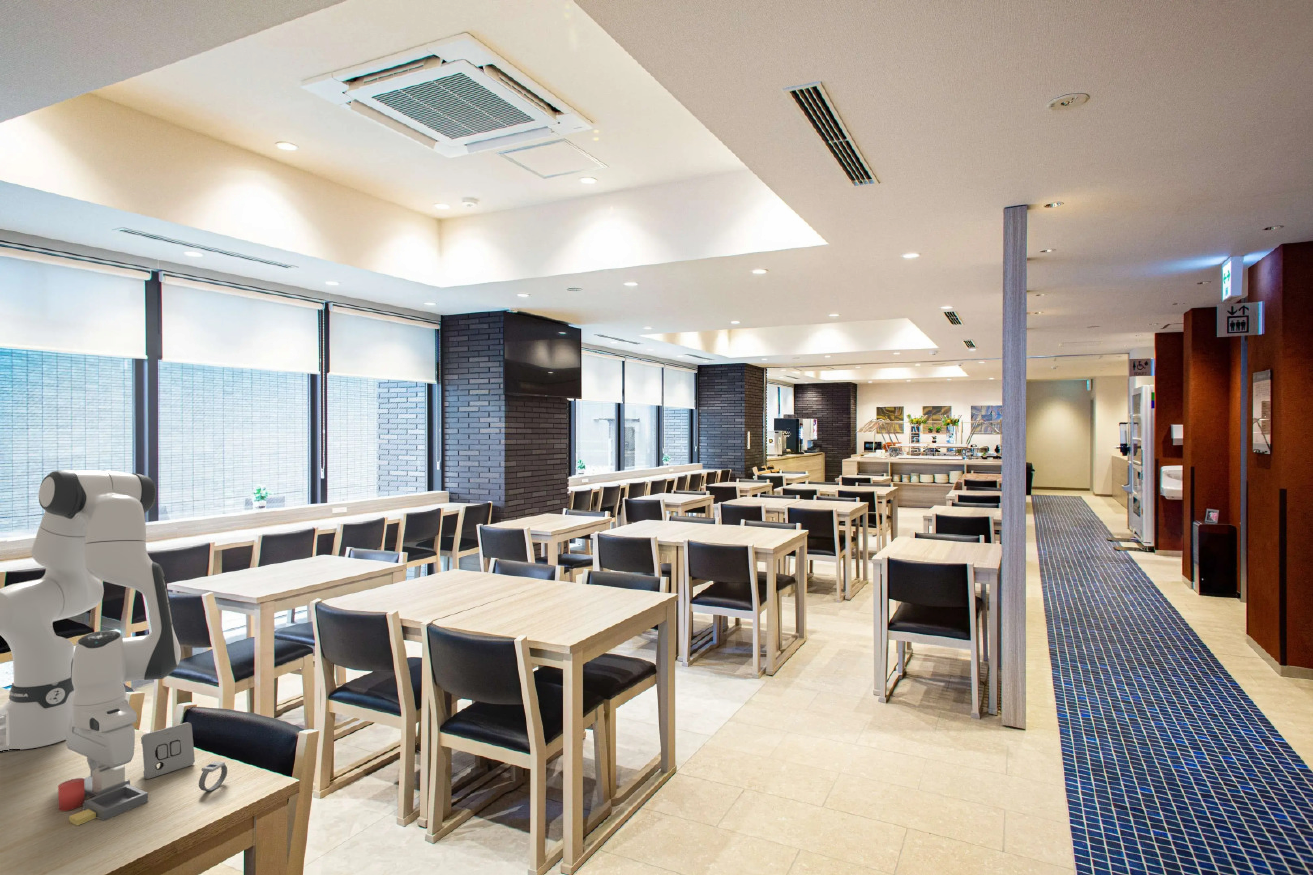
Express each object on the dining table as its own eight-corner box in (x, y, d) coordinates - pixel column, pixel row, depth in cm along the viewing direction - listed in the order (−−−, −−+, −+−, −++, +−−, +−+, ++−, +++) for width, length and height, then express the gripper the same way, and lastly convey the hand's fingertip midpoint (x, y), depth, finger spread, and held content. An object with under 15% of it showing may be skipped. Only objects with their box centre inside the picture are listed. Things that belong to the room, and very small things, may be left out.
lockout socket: (63, 818, 131) (63, 809, 131) (127, 792, 140) (128, 783, 140) (83, 828, 127) (83, 819, 127) (147, 801, 137) (147, 792, 137)
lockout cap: (55, 807, 135) (55, 784, 135) (81, 798, 138) (80, 776, 138) (62, 813, 133) (61, 790, 133) (88, 803, 136) (87, 781, 136)
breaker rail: (67, 786, 143) (67, 776, 143) (98, 774, 148) (98, 765, 148) (99, 801, 137) (99, 791, 137) (129, 789, 142) (129, 779, 142)
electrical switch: (145, 781, 145) (144, 736, 146) (137, 776, 149) (137, 732, 149) (195, 765, 153) (194, 722, 153) (187, 760, 156) (186, 719, 157)
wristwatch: (219, 780, 146) (219, 757, 146) (230, 782, 145) (230, 758, 145) (195, 795, 140) (195, 771, 140) (206, 797, 139) (206, 772, 139)
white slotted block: (92, 791, 140) (92, 769, 140) (114, 783, 143) (114, 761, 143) (102, 796, 138) (102, 773, 138) (124, 787, 141) (124, 765, 141)
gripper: (56, 707, 144) (56, 772, 144) (105, 726, 135) (105, 796, 135) (92, 697, 150) (91, 760, 150) (141, 715, 141) (141, 782, 140)
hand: (98, 777), depth 142 cm, fingers closed
